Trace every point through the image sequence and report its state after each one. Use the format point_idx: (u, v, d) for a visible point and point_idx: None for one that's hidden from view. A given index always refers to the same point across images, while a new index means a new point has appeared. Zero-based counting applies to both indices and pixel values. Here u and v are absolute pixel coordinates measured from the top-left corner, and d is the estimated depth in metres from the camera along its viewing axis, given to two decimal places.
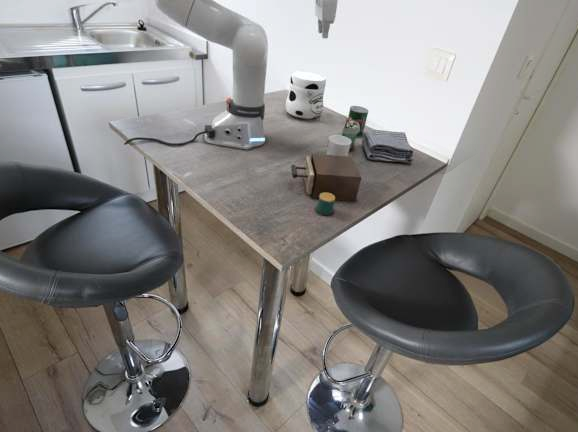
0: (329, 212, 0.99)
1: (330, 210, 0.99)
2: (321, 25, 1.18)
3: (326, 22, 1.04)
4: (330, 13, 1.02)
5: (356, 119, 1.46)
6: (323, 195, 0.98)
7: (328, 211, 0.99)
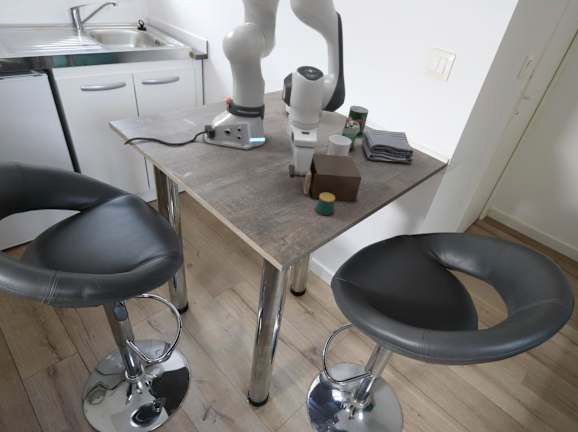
0: (329, 212, 0.99)
1: (330, 210, 0.99)
2: None
3: (300, 172, 0.97)
4: (304, 165, 0.95)
5: (356, 119, 1.46)
6: (323, 195, 0.98)
7: (328, 211, 0.99)
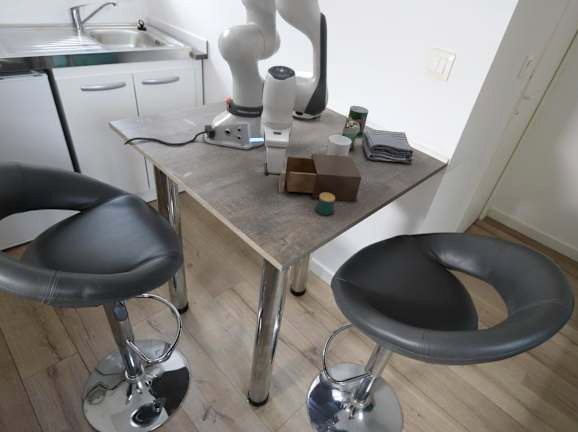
0: (329, 212, 0.99)
1: (330, 210, 0.99)
2: None
3: (272, 172, 0.96)
4: (276, 165, 0.95)
5: (356, 119, 1.46)
6: (323, 195, 0.98)
7: (328, 211, 0.99)
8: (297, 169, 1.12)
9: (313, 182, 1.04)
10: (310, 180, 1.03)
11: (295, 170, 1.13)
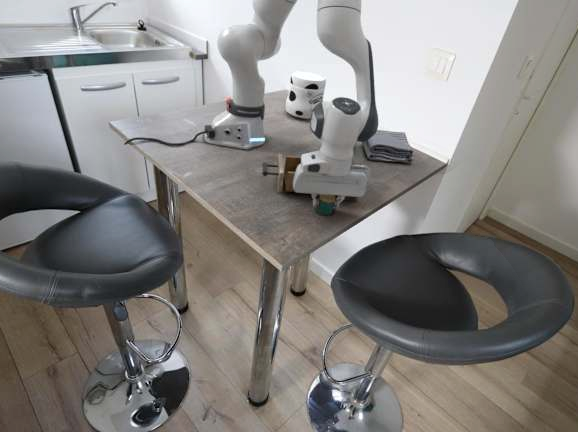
0: (329, 212, 0.99)
1: (330, 210, 0.99)
2: (337, 200, 0.99)
3: None
4: (294, 181, 0.94)
5: None
6: (323, 195, 0.98)
7: (328, 211, 0.99)
8: (295, 169, 1.12)
9: None
10: None
11: (293, 170, 1.12)
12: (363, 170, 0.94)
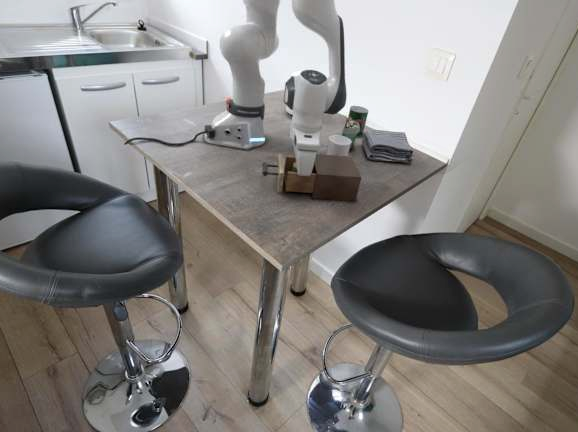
0: None
1: None
2: None
3: (302, 175, 0.97)
4: (306, 168, 0.96)
5: (356, 119, 1.46)
6: None
7: None
8: None
9: (311, 182, 1.04)
10: (308, 180, 1.03)
11: None
12: None
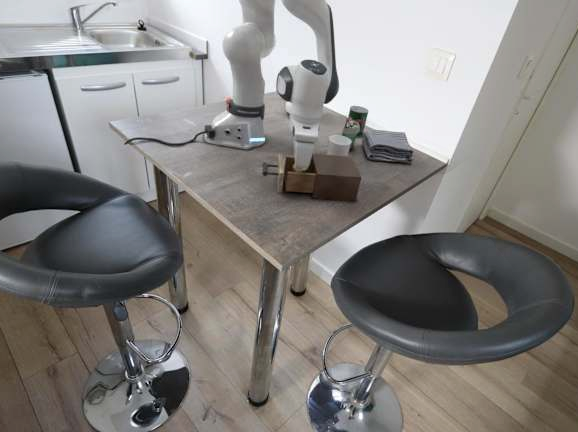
0: None
1: None
2: None
3: (299, 167, 0.96)
4: (304, 160, 0.94)
5: (356, 119, 1.46)
6: None
7: None
8: None
9: (311, 182, 1.04)
10: (308, 180, 1.03)
11: None
12: None
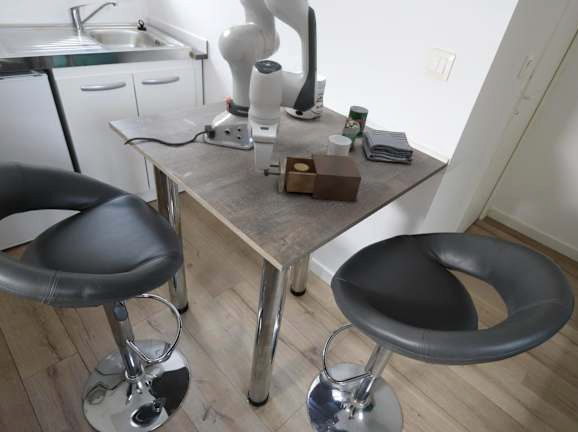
0: None
1: None
2: None
3: (260, 168, 0.95)
4: (264, 161, 0.93)
5: (356, 119, 1.46)
6: (300, 168, 1.06)
7: None
8: None
9: (312, 182, 1.04)
10: (309, 180, 1.03)
11: None
12: None
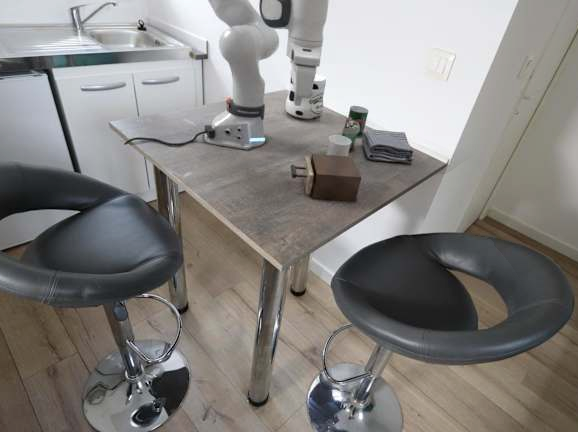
0: None
1: None
2: None
3: (300, 96, 0.86)
4: (305, 87, 0.85)
5: (356, 119, 1.46)
6: None
7: None
8: None
9: None
10: None
11: None
12: None
